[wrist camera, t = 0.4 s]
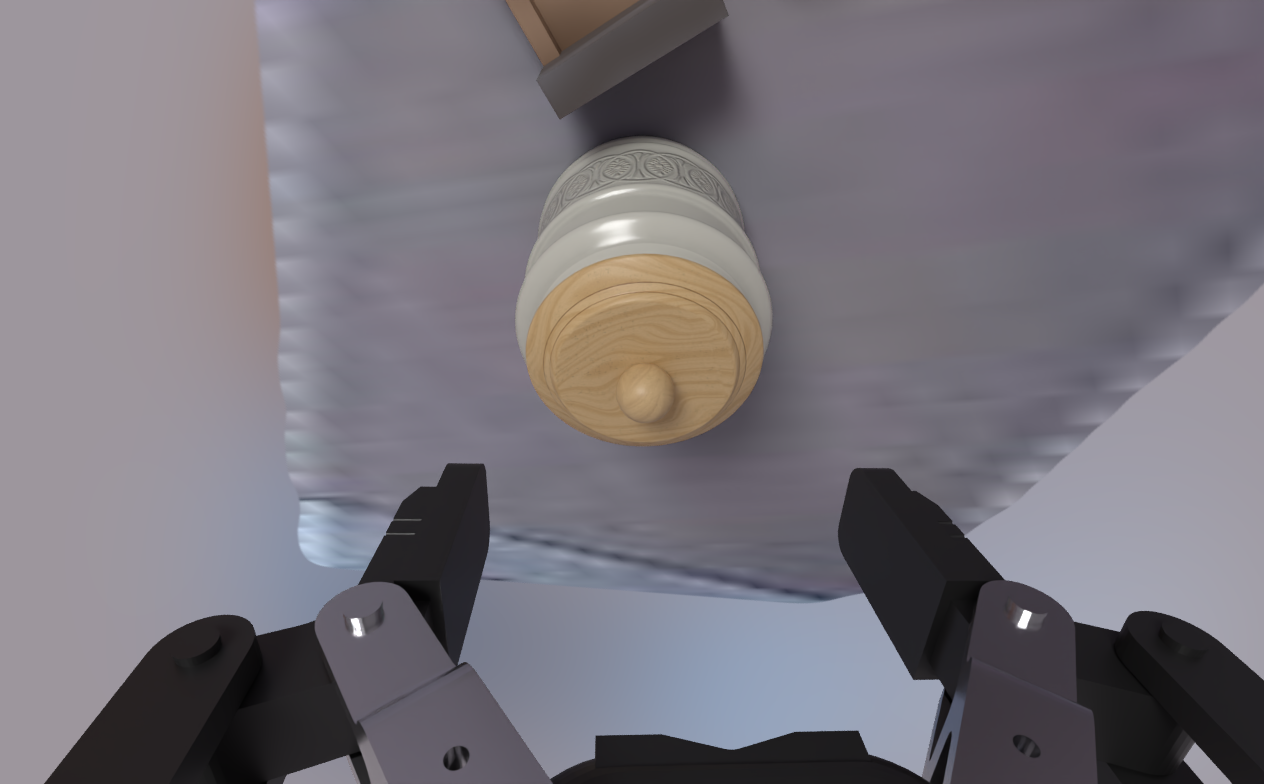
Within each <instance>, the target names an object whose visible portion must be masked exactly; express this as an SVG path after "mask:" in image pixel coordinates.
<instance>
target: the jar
mask: <svg viewBox="0 0 1264 784" xmlns="http://www.w3.org/2000/svg"><path fill="white" fill-rule="evenodd" d="M772 321H773V314H772V304H771V298H770V294H769V291H768V288H767V285H766V282H765V280H764V278H763V276H762V274H761V272H760V266H759V263H758V259H757V256H756V253H755V250H754V248H753V246H752V244H751V242H750V240H749V239H748V237H747V235H746V234H745V230H744V222H743V217H742V213H741V210H740V207H739V204H738V202H737V199H736V197H735V194H734V192H733V190H732V188H731V187H730V185H729V183H728V182H727V181H726V179H725V178H724V176H723V175H722V174H721V173H720V172H719V170H718V169H717V168H716V167H715V166H714V165H713V164H711V163H710V162H709V161H708V160H707V159H705V158H704V157H703V156H701V155H700V154H698V153H697V152H696V151H694V150H692V149H691V148H689V147H687V146H685V145H683V144H680V143H678V142H675V141H672V140H669V139H665V138H660V137H654V136H630V137H623V138H619V139H615V140H612V141H608V142H606V143H603V144H601V145H599V146H597V147H595V148H593V149H591V150H590V151H588V152H587V153H585V154H584V155H582V156H581V157H580V158H579V159H577V160H576V161H575V162H574V163H573V164H571V165H570V166H569V167H568V168H567V169H566V170H565V171H564V173H563V174H562V175H561V176H560V177H559V179H558V180H557V181H556V183H555V184H554V186H553V188H552V189H551V191H550V193H549V195H548V197H547V200H546V202H545V205H544V208H543V211H542V215H541V218H540V223H539V230H538V240H537V241H536V243H535V245H534V247H533V249H532V251H531V254H530V257H529V260H528V263H527V267H526V272H525V280H524V282H523V284H522V287H521V290H520V292H519V296H518V300H517V305H516V312H515V329H516V336H517V341H518V345H519V348H520V351H521V354H522V356H523V359H524V361H525V363H526V365H527V368H528V373H529V376H530V379H531V381H532V384H533V386H534V388H535V390H536V392H537V393H538V395H539V397H540V398H541V400H542V401H543V402H544V403H545V405H546V406H547V407H548V408H549V409H550V410H551V411H552V412H553V413H554V414H555V415H556V416H557V417H558V418H560V419H561V420H562V421H564V422H565V423H566V424H568V425H569V426H571V427H573V428H574V429H576V430H578V431H580V432H582V433H584V434H586V435H588V436H591V437H593V438H596V439H599V440H602V441H606V442H610V443H615V444H621V445H628V446H657V445H665V444H671V443H676V442H680V441H684V440H687V439H690V438H693V437H695V436H698V435H700V434H702V433H705V432H707V431H709V430H710V429H712V428H714V427H716V426H717V425H719V424H720V423H722V422H723V421H725V420H726V419H727V418H728V417H730V416H731V415H732V414H733V413H734V412H735V411H736V410H737V409H738V408H739V407H740V406H741V405H742V404H743V403H744V401H745V400H746V399H747V398H748V396H749V395H750V393H751V392H752V390H753V388H754V386H755V384H756V382H757V380H758V377H759V374H760V371H761V367H762V362H763V358H764V355H765V353H766V351H767V348H768V345H769V341H770V337H771V331H772Z"/></svg>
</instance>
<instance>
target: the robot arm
mask: <svg viewBox="0 0 1264 784" xmlns="http://www.w3.org/2000/svg"><path fill="white" fill-rule="evenodd" d="M489 537H490V521H489V507H488V494H487V480H486V470H485V466H484V464H457V463H449V464H447V465H446V467H445V469H444V471H443V474H442V476H441V478H440V480H439V482H438V485H437V487H420V488H418V489H417V490H416V491H415V492H413V493H412V494H411V495H410V496H408V497H407V498H406V499H405V500H404V501H402V503H401V505H400V507H399V509H398V511H397V513H396V515H395V516H394V521H392V522H391V524H390V526H389V528H388V530H387V532H386V536H384V537H383V539H382V541H381V543H380V545H379V547H378V548H377V550H376V552H375V554H374V556H373V558H372V560H371V562H370V563H369V565H368V567H367V569H366V571H365V573H364V575H363V577H362V578H361V580H360V582H359V584H358V585H357V586H354V587H351V588H349V589H347V590H345V591H343V592H341V593H340V594H338V595H336V596H335V597H333V598H332V599H331V600H330V601H329V602H327V603H326V604H325V605H324V607H323V608H322V609H321V611H320V612H319V614H318V616H317V618H316V620H315V621H313V622H310V623H307V624H303V625H300V626H296V627H292V628H287V629H283V630H279V631H275V632H271V633H267V634H263V635H258V636H256V634H255V630H254V627H253V625H252V624H251V623H250V621H248V620H247V619H245V618H243V617H240V616H235V615H218V616H212V617H207V618H203V619H200V620H197V621H194V622H192V623H189V624H187V625H185V626H183V627H181V628H179V629H177V630H175V631H173V632H172V633H170V634H169V635H167V636H166V637H164V638H163V639H161V640H160V641H159V642H158V643H157V644H156V645H155V646H153V647H152V649H150V651H149V652H148V653H147V654H146V655H145V656H144V658H143V659H142V660H141V662H140V663H139V664H138V665H137V667H136V668H135V669H134V670H133V672H132V673H131V674H130V676H129V677H128V678H127V679H126V681H125V682H124V683H123V685H122V686H121V687H120V688H119V689H118V691H117V692H116V693H115V694H114V696H113V697H112V698H111V700H110V701H109V702H108V703H107V705H106V706H105V707H104V708H103V710H102V711H101V713H100V714H99V715H98V716H97V717H96V719H95V720H94V721H93V722H92V724H91V725H90V726H89V728H88V729H87V730H86V731H85V733H84V734H83V735H82V736H81V738H80V739H79V740H78V741H77V743H76V744H75V745H74V747H73V748H72V749H71V750H70V752H69V753H68V754H67V755H66V757H65V758H64V759H63V760H62V762H61V763H60V764H59V766H58V767H57V768H56V769H55V771H54V772H53V773H52V775H51V776H50V777H49V778H48V780H47V781H46V782H45V783H44V784H283V782H284V779H285V777H286V775H287V774H290V773H293V772H297V771H300V770H303V769H306V768H309V767H312V766H315V765H318V764H321V763H325V762H328V761H331V760H334V759H336V758H340V757H343V756H346V757H347V760H348V762H349V765H350V767H351V770H352V772H353V775H354V777H355V780H356V782H357V784H1203V783H1202V781H1201V780H1200V779H1199V778H1198V777H1197V776H1196V774H1195V773H1194V772H1193V771H1192V770H1191V769H1190V767H1189V766H1188V765H1187V764H1186V763H1185V762H1184V760H1183V759H1184V758H1185V756H1186V755H1187V753H1188V752H1189V750H1190V749H1191V747H1192V746H1193V744H1194V743H1196V744H1197V745H1198V746H1199V747H1200V748H1201V749H1202V750H1203V752H1204V753H1205V754H1206V755H1207V756H1208V757H1209V758H1210V759H1211V760H1212V762H1213V763H1214V764H1215V765H1216V766H1217V767H1218V768H1219V769H1220V770H1221V771H1222V773H1223V774H1224V775H1225V776H1226V777H1227V778H1228V779H1229V780H1230V782H1231V783H1232V784H1264V680H1263V679H1262V678H1260V677H1259V676H1258V675H1257V674H1256V673H1255V672H1254V671H1252V670H1251V669H1250V668H1249V667H1248V666H1247V665H1246V664H1244V663H1243V662H1242V661H1241V660H1240V659H1239V658H1238V657H1237V656H1235V655H1234V654H1233V653H1232V652H1231V651H1230V650H1229V649H1228V648H1226V647H1225V646H1224V645H1223V644H1222V643H1220V642H1219V641H1218V640H1217V639H1215V638H1214V637H1212V636H1211V635H1210V634H1208V633H1206V632H1205V631H1203V630H1201V629H1200V628H1198V627H1196V626H1194V625H1192V624H1190V623H1188V622H1185V621H1183V620H1181V619H1178V618H1175V617H1172V616H1170V615H1166V614H1162V613H1157V612H1152V611H1138V612H1134V613H1132V614H1131V615H1129V616H1128V618H1127V620H1126V621H1125V623H1124V625H1123V627H1122V629H1121V631H1120V632H1117V631H1113V630H1109V629H1104V628H1100V627H1095V626H1091V625H1086V624H1082V623H1077V622H1073V620H1072V618H1071V616H1070V615H1069V613H1068V612H1067V611H1066V610H1065V609H1064V608H1063V607H1062V606H1061V605H1060V604H1059V603H1058V602H1056V601H1055V600H1054V599H1052V598H1051V597H1049V596H1048V595H1046V594H1044V593H1043V592H1041V591H1038V590H1037V589H1034V588H1032V587H1030V586H1027V585H1024V584H1021V583H1017V582H1013V581H1006V580H1004V579H1003V578H1002V576H1001V575H1000V574H999V573H998V572H997V571H996V569H995V568H994V567H993V566H992V565H991V564H990V563H989V562H988V561H987V559H986V558H985V557H984V556H983V555H982V554H981V553H980V552H979V550H977V548H976V547H975V546H974V545H973V544H972V543H971V542H970V540H969V539H968V538H964V534H963V533H962V532H961V530H960V529H959V528H958V527H957V526H956V525H954V524H952V520H951V519H950V518H949V517H948V516H947V515H946V514H945V513H944V511H943V510H942V509H941V508H940V507H939V506H938V505H937V504H935V503H934V502H932V501H931V500H929V499H928V498H926V497H924V496H923V495H921V494H920V493H918V492H917V491H911V490H910V489H909V488H908V486H907V485H906V484H905V483H904V482H903V481H902V479H901V478H900V477H899V476H898V475H897V474H896V472H895V471H894V470H892V469H889V468H856V469H854V470H853V471H852V473H851V475H850V478H849V483H848V487H847V492H846V496H845V500H844V505H843V509H842V513H841V518H840V522H839V528H838V540H839V546H840V549H841V552H842V555H843V557H844V558H845V560H846V562H847V564H848V565H849V567H850V569H851V571H852V572H853V574H854V576H855V578H856V579H857V581H858V583H859V585H860V587H861V588H862V590H863V592H864V594H865V595H866V597H867V599H868V601H869V602H870V604H871V606H872V608H873V609H874V611H875V613H876V615H877V616H878V618H879V620H880V622H881V624H882V625H883V627H884V629H885V631H886V632H887V634H888V636H889V637H890V639H891V641H892V643H893V644H894V646H895V648H896V650H897V652H898V653H899V655H900V657H901V659H902V661H903V662H904V664H905V666H906V668H907V669H908V671H909V673H910V675H911V676H912V678H913V680H928V679H929V680H933V679H939V680H940V681H941V683H942V684H943V686H944V689H943V692H942V695H941V698H940V700H939V704H938V709H937V713H936V718H935V721H934V726H933V730H932V735H931V740H930V744H929V748H928V752H927V757H926V761H925V766H924V771H923V774H922V777H920V776H918V775H917V774H915V773H913V772H911V771H909V770H908V769H906V768H903V767H901V766H899V765H897V764H895V763H893V762H890V761H887V760H884V759H881V758H879V757H876V756H872V755H868V752H867V750H866V748H865V745H864V743H863V741H862V738H861V736H860V734H859V731H817V732H794V733H790V734H787V735H784V736H780V737H777V738H774V739H770V740H767V741H763V742H760V743H757V744H753V745H750V746H747V747H743V748H740V749H736V750H727V749H722V748H718V747H714V746H710V745H705V744H701V743H696V742H692V741H688V740H683V739H679V738H675V737H670V736H666V735H662V734H661V735H659V734H658V735H608V736H596V741H595V743H596V744H595V759H592V760H589V761H585V762H582V763H580V764H577V765H575V766H573V767H571V768H569V769H566V770H565V771H563V772H561V773H560V774H558V775H556V776H555V777H553V778H551V779H549V777H548V776H547V774H546V773H545V771H544V770H543V768H542V767H541V766H540V764H539V763H538V761H537V760H536V758H535V757H534V755H533V754H532V753H531V751H530V750H529V748H528V747H527V745H526V744H525V742H524V741H523V739H522V738H521V736H520V735H519V734H518V732H517V731H516V729H515V728H514V726H513V725H512V723H511V722H510V720H509V719H508V717H507V716H506V715H505V713H504V712H503V710H502V709H501V708H500V706H499V704H498V703H497V701H496V700H495V699H494V697H493V696H492V694H491V693H490V691H489V690H488V688H487V687H486V685H485V684H484V683H483V681H482V680H481V678H480V677H479V675H478V674H477V672H476V671H475V670H474V668H472V666H471V665H470V664H468V663H466V662H464V663H461V664H460V665H458V661H459V657H460V654H461V650H462V646H463V643H464V639H465V635H466V631H467V627H468V624H469V620H470V616H471V613H472V609H473V605H474V601H475V597H476V594H477V590H478V586H479V583H480V579H481V575H482V572H483V568H484V564H485V560H486V557H487V553H488V547H489ZM457 665H458V666H457Z"/></svg>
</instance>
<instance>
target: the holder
mask: <svg viewBox="0 0 1264 784" xmlns="http://www.w3.org/2000/svg"><path fill="white" fill-rule="evenodd" d="M506 2H507V4H508V6H509V7H510V9H511V11H512V12H513V14H514V16H515V18H516V19H517V21H518V23H519V25H520V26H521V28H522V30H523V31H524V33H525V35H526V37H527V38H528V40H529V42H530V43H531V45H532V47H533V49H534V50H535V52H536V54H537V56H538V57H539V59H540V61H541V62H542V64H543V66H544V67H543V68H542V70H541V72H540V74H539V76H538V78H537V80H536V81H537V82H538V84H539V86H540V87H541V89H542V91H543V92H544V94H545V96H546V97H547V99H548V101H549V102H550V104H551V106H552V107H553V109H554V111H555V112H556V114H557V116H558V117H559V119H562V118H563V117H565V116H566V115H568V114H570V113H571V112H573V111H575V110H576V109H578V108H579V107H581V106H583V105H584V104H586V103H588V102H589V101H591V100H592V99H594V98H596V97H597V96H599V95H601V94H602V93H604V92H605V91H607V90H609V89H610V88H612V87H614V86H615V85H617V84H618V83H620V82H622V81H623V80H625V79H627V78H628V77H630V76H631V75H633V74H635V73H636V72H638V71H640V70H641V69H643V68H644V67H646V66H648V65H649V64H651V63H653V62H654V61H656V60H657V59H659V58H661V57H662V56H664V55H666V54H667V53H669V52H670V51H672V50H674V49H675V48H677V47H678V46H680V45H682V44H683V43H685V42H687V41H688V40H690V39H691V38H693V37H695V36H696V35H698V34H700V33H701V32H703V31H704V30H706V29H708V28H709V27H711V26H713V25H714V24H716V23H717V22H719V21H721V20H722V19H724V18H726V17H727V16H729V15H728V12H727V10H726V7H725V4H724V2H723V0H506Z"/></svg>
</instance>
